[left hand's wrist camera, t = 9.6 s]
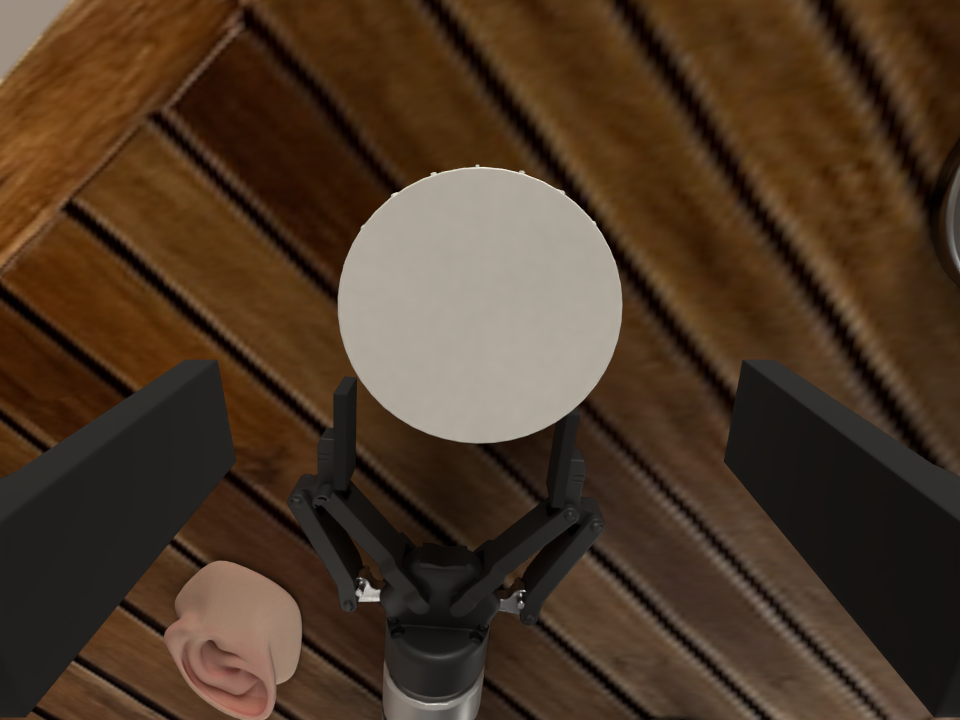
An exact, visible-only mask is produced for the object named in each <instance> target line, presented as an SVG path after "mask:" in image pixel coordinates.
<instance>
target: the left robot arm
mask: <svg viewBox="0 0 960 720" xmlns="http://www.w3.org/2000/svg"><path fill="white" fill-rule="evenodd" d="M931 222H932V236H933V243H934V247H935V250H936V253H937V256H938V258H939V261H940V263H941V265H942V266H943V268H944V270H945V271H946V273H947V274H948V275H949V277H950V278H951V279H952V280H953V281H954V282H955V283H956V284H957V285H958V286H960V139H959V140H958V142H957V144H956V145H955V147H954V148H953V150H952V152H951V154H950V156H949V158H948V160H947V162H946V164H945V166H944V168H943V171H942V173H941V176H940V179H939V181H938V184H937V188H936V192H935V196H934V201H933V207H932V219H931ZM235 462H236V458H235V453H234V448H233V442H232V437H231V431H230V426H229V420H228V415H227V409H226V404H225V399H224V393H223V388H222V382H221V377H220V371H219V366H218V360H184V361H182V362H181V363H179V364H178V365H176V366H175V367H173V368H172V369H170V370H169V371H167V372H166V373H164V374H163V375H161V376H160V377H158V378H157V379H155V380H154V381H152V382H151V383H149V384H148V385H146V386H145V387H143V388H142V389H140V390H139V391H137V392H136V393H134V394H133V395H131V396H130V397H128V398H127V399H125V400H124V401H122V402H121V403H119V404H118V405H116V406H115V407H113V408H111V409H110V410H108V411H107V412H105V413H104V414H102V415H101V416H99V417H98V418H96V419H95V420H93V421H92V422H90V423H89V424H87V425H86V426H84V427H83V428H81V429H80V430H78V431H77V432H75V433H74V434H72V435H71V436H69V437H68V438H66V439H65V440H63V441H62V442H60V443H59V444H57V445H56V446H54V447H53V448H51V449H50V450H48V451H47V452H45V453H44V454H42V455H41V456H39V457H37V458H36V459H34V460H33V461H31V462H30V463H28V464H27V465H25V466H24V467H22V468H21V469H19V470H18V471H16V472H14V473H12V474H10V475H7V476H5V477H3V478H1V479H0V717H27V715H28V714H29V713H30V712H31V711H32V709H33V708H34V707H35V706H36V704H37V703H38V702H39V701H40V700H41V698H42V697H43V696H44V695H45V694H46V692H47V691H48V690H49V689H50V687H51V686H52V685H53V684H54V683H55V681H56V680H57V679H58V678H59V676H60V675H61V674H62V673H63V672H64V670H65V669H66V668H67V667H68V666H69V664H70V663H71V662H72V661H73V659H74V658H75V657H76V656H77V655H78V653H79V652H80V651H81V650H82V648H83V647H84V646H85V645H86V644H87V642H88V641H89V640H90V639H91V638H92V636H93V635H94V634H95V633H96V631H97V630H98V629H99V628H100V627H101V625H102V624H103V623H104V622H105V620H106V619H107V618H108V617H109V616H110V614H111V613H112V612H113V611H114V610H115V608H116V607H117V606H118V605H119V603H120V602H121V601H122V600H123V599H124V597H125V596H126V595H127V594H128V592H129V591H130V590H131V589H132V588H133V586H134V585H135V584H136V583H137V582H138V580H139V579H140V578H141V577H142V575H143V574H144V573H145V572H146V571H147V569H148V568H149V567H150V566H151V564H152V563H153V562H154V561H155V560H156V558H157V557H158V556H159V555H160V554H161V552H162V551H163V550H164V549H165V547H166V546H167V545H168V544H169V543H170V541H171V540H172V539H173V538H174V536H175V535H176V534H177V533H178V532H179V530H180V529H181V528H182V527H183V526H184V524H185V523H186V522H187V521H188V519H189V518H190V517H191V516H192V515H193V513H194V512H195V511H196V510H197V508H198V507H199V506H200V505H201V504H202V502H203V501H204V500H205V499H206V498H207V496H208V495H209V494H210V493H211V491H212V490H213V489H214V488H215V487H216V485H217V484H218V483H219V482H220V480H221V479H222V478H223V477H224V476H225V474H226V473H227V472H228V471H229V469H230V468H231V467H232V466H233V465H234V463H235ZM724 462H725V463H726V465H727V466H728V467H729V468H730V469H731V471H732V472H733V473H734V474H735V476H736V477H737V478H738V479H739V480H740V482H741V483H742V484H743V485H744V487H745V488H746V489H747V490H748V491H749V493H750V494H751V495H752V496H753V498H754V499H755V500H756V501H757V502H758V504H759V505H760V506H761V507H762V508H763V510H764V511H765V512H766V513H767V515H768V516H769V517H770V518H771V519H772V521H773V522H774V523H775V524H776V526H777V527H778V528H779V529H780V530H781V532H782V533H783V534H784V535H785V536H786V538H787V539H788V540H789V541H790V543H791V544H792V545H793V546H794V547H795V549H796V550H797V551H798V552H799V554H800V555H801V556H802V557H803V558H804V560H805V561H806V562H807V563H808V564H809V566H810V567H811V568H812V569H813V571H814V572H815V573H816V574H817V575H818V577H819V578H820V579H821V580H822V582H823V583H824V584H825V585H826V586H827V588H828V589H829V590H830V591H831V592H832V594H833V595H834V596H835V597H836V599H837V600H838V601H839V602H840V603H841V605H842V606H843V607H844V608H845V610H846V611H847V612H848V613H849V614H850V616H851V617H852V618H853V619H854V620H855V622H856V623H857V624H858V625H859V627H860V628H861V629H862V630H863V631H864V633H865V634H866V635H867V636H868V638H869V639H870V640H871V641H872V642H873V644H874V645H875V646H876V647H877V648H878V650H879V651H880V652H881V653H882V655H883V656H884V657H885V658H886V659H887V661H888V662H889V663H890V664H891V666H892V667H893V668H894V669H895V670H896V672H897V673H898V674H899V675H900V676H901V678H902V679H903V680H904V681H905V683H906V684H907V685H908V686H909V687H910V689H911V690H912V691H913V692H914V694H915V695H916V696H917V697H918V698H919V700H920V701H921V702H922V703H923V704H924V706H925V707H926V708H927V709H928V711H929V712H930V713H931V714H932V715H933V717H960V476H958V475H956V474H954V473H951V472H949V471H947V470H944V469H942V468H940V467H938V466H935V465H933V464H932V463H930V462H929V461H927V460H926V459H924V458H923V457H921V456H919V455H918V454H916V453H915V452H913V451H912V450H910V449H909V448H907V447H906V446H904V445H903V444H901V443H900V442H898V441H897V440H895V439H894V438H892V437H891V436H889V435H888V434H886V433H885V432H883V431H882V430H880V429H879V428H877V427H876V426H874V425H873V424H871V423H870V422H868V421H867V420H865V419H864V418H862V417H861V416H859V415H858V414H856V413H855V412H853V411H852V410H850V409H849V408H847V407H845V406H844V405H842V404H841V403H839V402H838V401H836V400H835V399H833V398H832V397H830V396H829V395H827V394H826V393H824V392H823V391H821V390H820V389H818V388H817V387H815V386H814V385H812V384H811V383H809V382H808V381H806V380H805V379H803V378H802V377H800V376H799V375H797V374H796V373H794V372H793V371H791V370H790V369H788V368H787V367H785V366H784V365H782V364H781V363H779V362H778V361H776V360H742V366H741V371H740V377H739V382H738V388H737V393H736V399H735V404H734V409H733V415H732V420H731V426H730V431H729V437H728V442H727V448H726V453H725V458H724Z"/></svg>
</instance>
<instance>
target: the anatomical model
mask: <svg viewBox="0 0 960 720" xmlns="http://www.w3.org/2000/svg"><path fill="white" fill-rule="evenodd" d="M175 610H176V613H177V616H178V618H179V620H178V621H176V622H175V623H173V624H172V625H171V626H170V627H169V628H168V629H167V630H166V632H165V635H164V641H165V643H166V646H167V648H168V649H169V651H170V653H171V655H172V657H173V659H174V661H175V663H176V665H177V667H178V668H179V670H180V672H181V674H182V676H183V677H184V679H185V680H186V682H187V683H188V685H189V686H190V687H191V688H192V690H193V691H194V692H196V693H197V694H198V695H199V696H200V697H201V698H202V699H204V700H205V701H206V702H208V703H209V704H211V705H212V706H214V707H215V708H217V709H218V710H220V711H222V712H224V713H226V714H228V715H230V716H233V717H235V718H238V719H241V720H264V719H266V718H267V717H268V716H269V715H270V714H271V712H272V710H273V708H274V704H275V700H276V685H277V684H280V683H283V682H285V681H287V680H288V679H289V678H290V677H291V676H292V675H293V674H294V672H295V670H296V667H297V664H298V661H299V656H300V650H301V640H302V621H301V614H300V610H299V608H298V605H297V604H296V602H295V600H294V599H293V598H292V597H291V595H290V594H288V593H287V592H286V591H285V590H284V589H283V588H281V587H280V586H279V585H277V584H276V583H274V582H273V581H271V580H269V579H268V578H266V577H264V576H262V575H260V574H258V573H256V572H254V571H252V570H250V569H248V568H246V567H243V566H241V565H238V564H235V563H232V562H227V561H216V562H212V563H210V564H208V565H207V566H205V567H204V568H202V569H201V570H200V571H199V572H198V573H197V574H196V575H194V576H193V577H192V578H191V579H190V580H189V581H188V582H187V583H186V584H185V586H184V587H183V589H182V590H181V591H180V593H179V594H178V596H177V598H176V600H175Z"/></svg>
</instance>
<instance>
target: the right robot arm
mask: <svg viewBox="0 0 960 720" xmlns="http://www.w3.org/2000/svg"><path fill="white" fill-rule="evenodd" d="M356 400H357V377H346V376H345V377H344V378H343V380H342V382H341V383H340V385H339V386H338V388H337V389H336V391H335V393H334V428H327V429H326V430H325V432H324V434H323V435H322V437H321V439H320V441H319V443H318V475H315V476H313V475H311V474H304V475H302V476H301V478H300V479H299V481H298V483H297V484H296V486H295V488H294V489H293V491H292V493H291V495H290V497H289V498H288V501H287V503H288V506H289V508H290V509H291V511H292V513H293V514H294V516H295V517H296V519H297V521H298V522H299V524H300V526H301V527H302V529H303V531H304V532H305V534H306V536H307V537H308V539H309V541H310V542H311V544H312V546H313V547H314V549H315V550H316V552H317V554H318V555H319V557H320V559H321V560H322V562H323V564H324V565H325V567H326V569H327V570H328V572H329V574H330V575H331V577H332V579H333V580H334V582H335V583H336V585H337V590H338V597H339V604H340V607H341V609H342V610H344V611H347V612H351V611H354V610H355V609H356V608H357V605H358V602H365V601H380V603H381V605H382V606H383V608H384V609H385V612H386V627H385V650H384V654H385V660H384V672H383V701H382V706H383V714H382V720H477V716H478V711H479V706H480V701H481V693H482V685H483V677H484V668H485V661H486V654H487V647H488V639H489V632H490V625H491V620H492V618H493V617H494V616H495V615H496V614H497V612H498V611H505V612H511V613H517V614H520V620H521V622H522V623H523V624H524V625H533V624H535V623H536V622H537V620H538V617H539V614H540V611H541V607H542V604H543V602H544V600H545V599H546V598H547V597H548V596H549V595H550V593H551V592H552V591H553V590H554V589H555V588H556V586H557V585H558V584H559V583H560V582H561V581H562V579H563V578H564V577H565V576H566V575H567V574H568V572H569V571H570V570H571V569H572V568H573V566H574V565H575V564H576V563H577V562H578V561H579V559H580V558H581V557H582V556H583V555H584V554H585V552H586V551H587V550H588V549H589V548H590V547H591V545H592V544H593V543H594V542H595V541H596V540H597V538H598V537H599V536H600V535H601V534H602V533H603V531H604V530H605V523H604V520H603V517H602V514H601V512H600V509H599V506H598V503H597V501H596V500H595V499H594V498H592V497H587V498H583V497H581V493H582V488H583V483H584V478H585V472H586V465H585V461H584V458H583V456H582V453H581V450H580V449H574V444H575V439H576V433H577V427H578V422H579V416H580V415H579V412H578V410H577V407H575V408H574V409H573V410H572V411H571V412H569V413H568V414H567V415H565V416H564V417H562V418H561V419H560V420H558V421H557V422H556V426H555V432H554V438H553V444H552V450H551V457H550V463H549V469H548V475H547V481H546V484H547V489H548V494H549V497H548V498H546V499H545V500H544V501H542V502H541V503H540V504H539V505H537V506H536V507H535V508H534V509H532V510H531V511H530V512H529V513H527V514H526V515H525V516H524V517H522V518H521V519H520V520H519V521H517V522H516V523H515V524H513V525H512V526H511V527H510V528H508V529H507V530H506V531H505V532H503V533H502V534H501V535H500V536H498V537H497V538H496V539H495V540H487V541H486V542H485V543H483V544H482V545H481V546H480V547H478V548H477V549H476V550H475V551H473V552H471V551H469V550H467V546H457V545H456V546H449V547H443V546H440V545H436V544H431V543H423V546H421V547H418V548H417V547H416V546H415V545H414V544H413V543H412V542H411V541H410V540H409V539H408V537H407V536H406V535H405V534H404V533H402V532H401V533H398V532H397V531H396V530H395V529H394V528H393V527H392V525H391V524H390V523H389V522H388V521H387V520H386V519H385V518H384V517H383V516H382V514H381V513H380V512H379V511H378V510H377V509H376V508H375V507H374V506H373V505H372V503H371V502H370V501H369V500H368V499H367V498H366V497H365V496H364V495H363V494H362V492H361V491H360V490H359V489H358V488H357V487H356V486H355V485H354V484H353V483H352V481H351V480H350V479H351V477H352V474H353V472H354V469H355V463H356ZM347 532H348V533H349V534H350V535H351V537H352V538H353V539H354V540H355V541H356V542H357V543H358V544H359V545H360V546H361V547H362V548H363V549H364V550H365V551H366V552H367V553H368V554H369V556H370V557H371V558H372V559H373V560H374V561H375V562H376V563H377V564H378V565H379V567H380V572H381V574H382V576H383V577H384V579H383V581H379V580H376V579H375V578H374V577H373V576H372V573H371V572H370V567H369V566H367V565H364V566H363V564H362V560H361V557H360V554H359V552H358V550H357V549H356V547H355V545H354V543H353V542H352V540H351V538H350V536H349V535H348V533H347ZM541 548H543V549H542V550H541V551H540V552H539V554H538V555H537V556H536V557H535V558H534V560H533V561H532V562H531V563H530V565H529V566H528V567H527V569H526V571H525V572H524V574H523V577H522V578H520V577H518V578H516V579H515V583H513V584H512V586H511V587H510V588H509V589H507V590H500V588H499V586H500V585H501V584H502V583H503V582H504V579H505V577H506V575H507V574H509V573H510V572H511V571H513V570H514V569H515V568H517V567H518V566H519V565H520V564H522V563H523V562H524V561H526V560H527V559H528V558H530V557H531V556H532V555H534V554H535V553H536V552H537V551H539V550H540V549H541ZM650 720H685V719H677V718H658V719H650Z"/></svg>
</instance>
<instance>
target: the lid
mask: <svg viewBox="0 0 960 720" xmlns="http://www.w3.org/2000/svg"><path fill="white" fill-rule="evenodd" d="M564 194H565V192H564V191H561V190H557V189H555V188H553V187H552V186H550V185H548V184H546V183H544V182H543V181H540V180H538V179H535V178H533V177H530V176H527V175H525V174H524V172H523V171H519V173H517V172H513V171H509V170H505V169H498V168H487V167H479V165H476V168H462V169H456V170H451V171H446V172H442V173H439V174H436V172H434V173H431V176H430V177H427V178H424V179H422V180H420V181H418V182H416V183H414V184H412V185H410V186H408V187H406V188H404V189H403V190H402V191H400V192H399V193H398V192H397V193H394V194H392V195H391V196H392V197H391V198H390V199H389V200H388V201H387V202H386V203H384V204H383V205H382V206H381V207H380V208H379V209H378V210H377V211H376V212H375V213H374V214H373V215H372V216H371V218H370V219H369V220H368V221H367V223H366V224H365V225H363V226H362V227H361V231H360V232H359V234H358V236H357V237H356V239H355V241H354V242H353V244H352V246H351V249H350V251H349V253H348V256H347V258H346V260H345V264H344V266H343V271H342V275H341V278H340V285H339V293H338V318H339V325H340V332H341V336H342V340H343V343H344V347H345V350H346V353H347V355H348V357H349V360H350V362H351V364H352V366H353V368H354V370H355V372H356V373H357V375H358V377H359V378H360V380H361V382H362V383H363V384H364V385H365V387H366V388H367V389H368V391H369V392H370V393H371V394H372V396H373V397H374V398H375V399H376V400H377V401H378V402H379V403H380V404H381V405H382V406H383V407H384V408H386V409H387V410H388V411H390V412H391V413H392V414H393V415H395V416H396V417H397V418H399V419H400V420H402V421H404V422H405V423H407V424H409V425H410V426H412V427H414V428H416V429H419V430H421V431H423V432H425V433H427V434H430V435H434V436H437V437H440V438H443V439H448V440H453V441H458V442H467V443H495V442H501V441H508V440H513V439H516V438H520V437H524V436H527V435H530V434H532V433H535V432H537V431H539V430H542V429H544V428H546V427H548V426H549V425H551V424H553V423H555V422H557V421H558V420H560V419H561V418H562V417H564V416H565V415H567V414H568V413H569V412H571V411H572V410H573V409H574V408H575V407H576V406H577V405H579V404H580V403H581V402H582V401H583V400H584V399H585V398H586V397H587V395H588V394H589V393H590V392H591V391H592V389H593V388H594V387H595V386H596V384H597V383H598V381H599V380H600V378H601V377H602V375H603V373H604V372H605V370H606V368H607V366H608V364H609V362H610V360H611V358H612V355H613V352H614V349H615V346H616V343H617V340H618V336H619V331H620V325H621V318H622V294H621V284H620V280H619V275H618V271H617V266H616V264H615V260H614V259H613V256H612V253H611V251H610V248H609V246H608V245H607V243H606V241H605V239H604V237H603V236H602V234H601V232H600V231H599V229H598V228H597V227H596V223H595V222H594V221H592V220H591V219H590V217H589V216H588V215H587V214H586V213H585V212H584V211H583V210H582V209H581V208H580V207H579V206H578V205H577V204H576V203H575V202H573V201H572V200H571V199H570V198H568V197H567V196H566V195H564Z"/></svg>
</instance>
